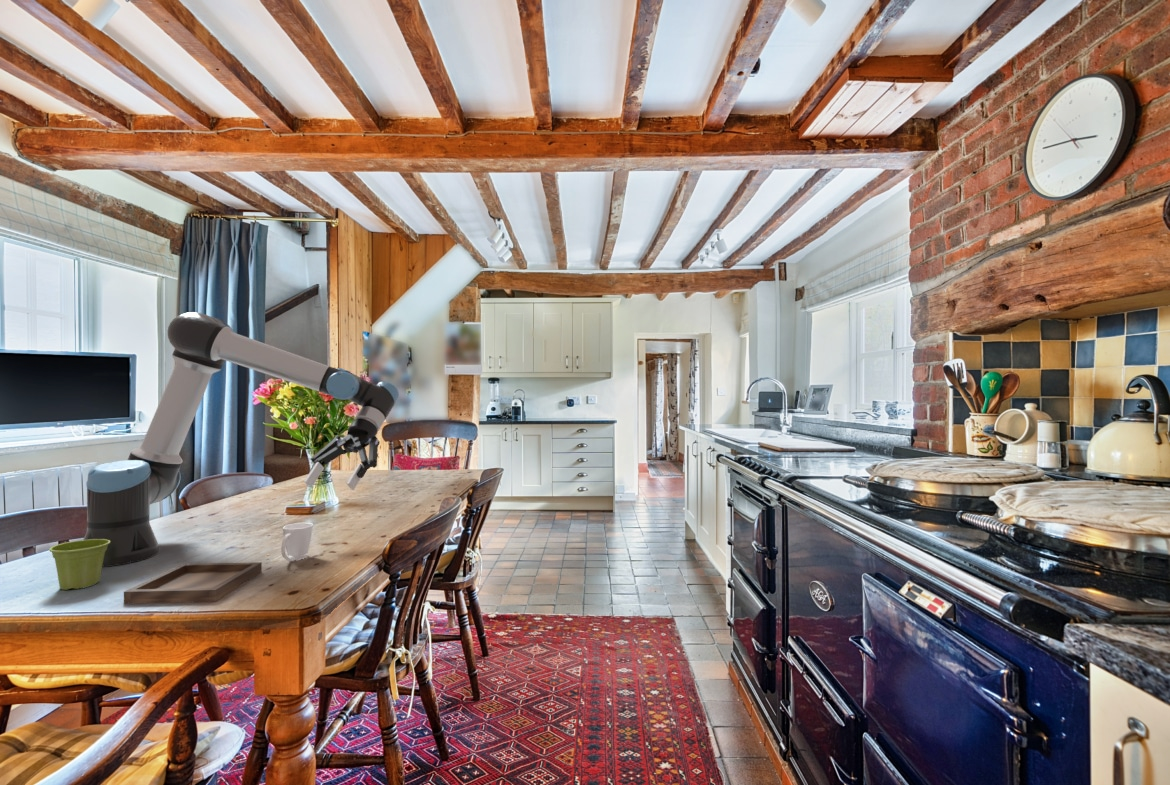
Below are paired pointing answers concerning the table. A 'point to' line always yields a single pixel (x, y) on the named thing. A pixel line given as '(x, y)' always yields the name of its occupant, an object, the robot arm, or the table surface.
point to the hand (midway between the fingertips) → (328, 485)
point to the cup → (296, 540)
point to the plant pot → (79, 562)
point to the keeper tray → (193, 583)
